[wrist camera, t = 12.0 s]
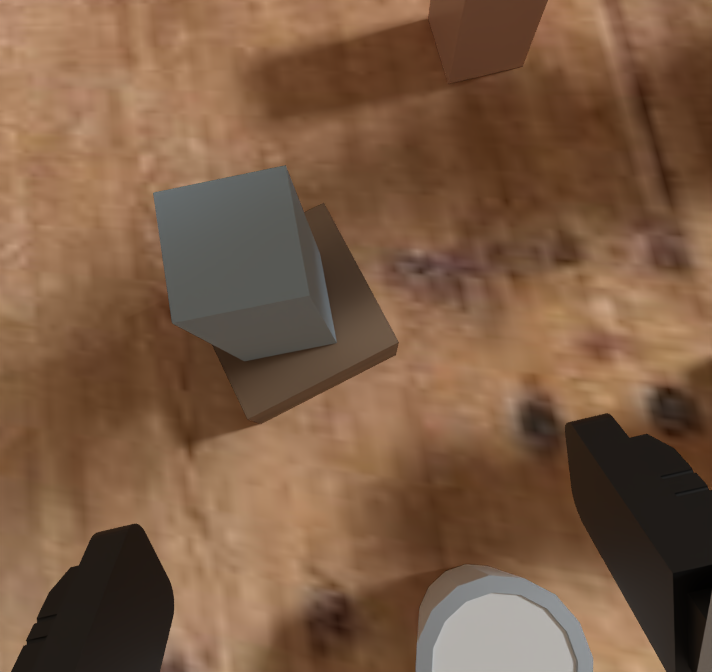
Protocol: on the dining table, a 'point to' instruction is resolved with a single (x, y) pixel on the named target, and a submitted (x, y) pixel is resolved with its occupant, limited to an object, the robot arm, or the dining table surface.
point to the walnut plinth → (324, 363)
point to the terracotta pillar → (483, 34)
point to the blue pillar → (244, 265)
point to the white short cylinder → (496, 626)
